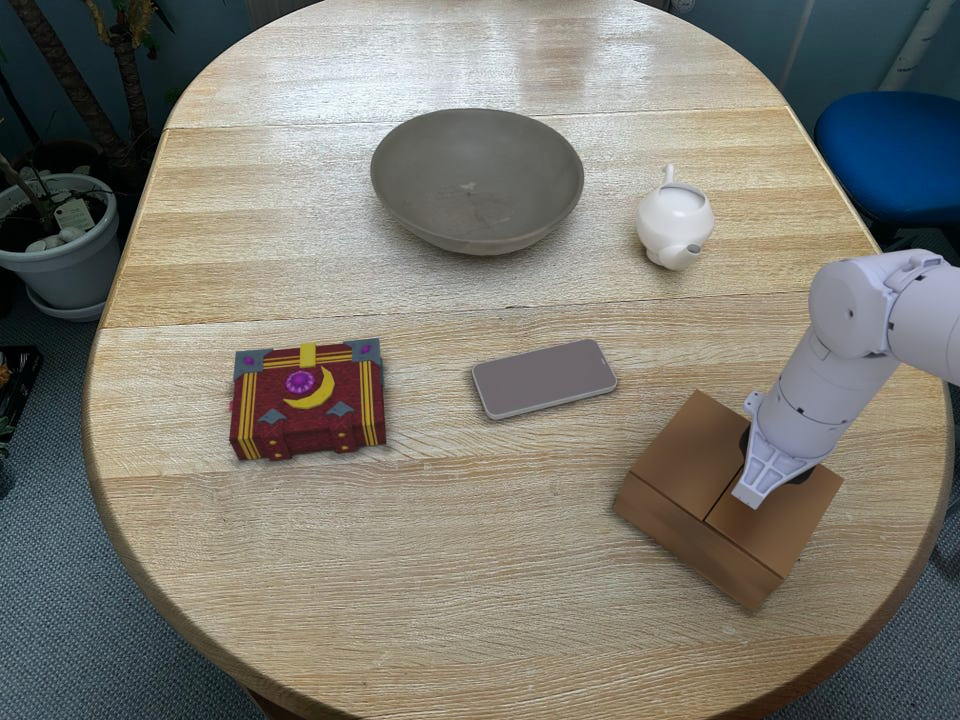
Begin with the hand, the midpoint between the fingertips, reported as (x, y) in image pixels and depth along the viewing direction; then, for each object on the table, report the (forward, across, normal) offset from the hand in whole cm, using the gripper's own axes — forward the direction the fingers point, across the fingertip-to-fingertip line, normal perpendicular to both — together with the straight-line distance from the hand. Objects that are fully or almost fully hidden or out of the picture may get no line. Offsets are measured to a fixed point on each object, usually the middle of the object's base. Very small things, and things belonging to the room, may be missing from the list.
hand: (754, 483), depth 58 cm
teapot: (+8, -29, -25) cm, 39 cm away
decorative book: (+8, +18, -40) cm, 44 cm away
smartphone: (+8, -2, -24) cm, 25 cm away
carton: (+8, 0, -2) cm, 8 cm away
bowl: (+9, -18, -48) cm, 52 cm away
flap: (0, 0, +2) cm, 2 cm away
